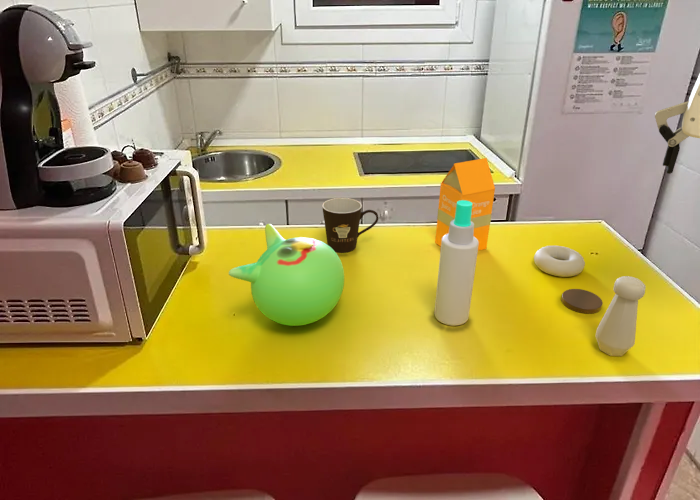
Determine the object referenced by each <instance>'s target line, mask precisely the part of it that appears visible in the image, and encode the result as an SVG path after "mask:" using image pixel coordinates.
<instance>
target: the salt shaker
mask: <svg viewBox="0 0 700 500" xmlns="http://www.w3.org/2000/svg"><path fill="white" fill-rule="evenodd" d="M613 292H614V293H615V294H614V295H613V297H612V300H611V301H610V303H609V305H608V307H607V309H606V310H605V313H604V315H603V317H602V318H601V320H600V322H599V324H598V325H597V328H596V331H595V339H596V342H597V345H598V349H599V351H601V352H602V353H604V354H606V355H608V356H610V357H623V356H624V355H625V354H627V352H628V351H629V350H631V349H632V348H633V347H634V346H635V343H636V332H637V320H638V319H637V318H638V306H639V300H641V299H643V297H644V296H645V293H646V284H645V283H644V282H643V281H642V280H641V279H639V278H637V277H634V276H629V275H625V276H624V275H623V276H620V277H618V278H616V279H615V281H614V285H613Z"/></svg>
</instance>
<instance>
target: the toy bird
mask: <svg viewBox="0 0 700 500" xmlns="http://www.w3.org/2000/svg"><path fill="white" fill-rule="evenodd" d="M264 236H265V241H266V242H265V243H266V250H265V251H264V252H263V253H262V254H261V255H260V257H259V258H258V259H257V261H256V262H252V263H248V264H244V265H243V264H242V265H238V266H236V267H232V268H231V269H230V270H229V271H228V275H229V276H230V277H231V278H233V279H237V280H240V281H245V282H249V283H250V292H251V296H252V300H253V301H254V304H255V306H256V308H257V309H258V310H259V311H260V312H261V313H262V314H263V315H264V317H266V318H268V319H269V320H270V321H273V322H275V323H277V324H280V325H283V326H290V327H293V326H294V327H299V326H306V325H309V324H312V323H315V322H317V321H319V320H321V319H323V318H324V317H326V316H327V315H328V314H330V313H331V312H332V311H333V309H335V307H336V306H337V304H338V303H339V301H340V299H341V297H342V294H343V290H344V287H345V270H344V266H343V263H342V260H341V258H340V256H339V255H338V253H337V252H335V251H334V250H333V249H332V248H331V247H330V246H328V244H327V243H325V242H324V241H322V240H319V239H316V238H312V237H307V236H306V237H303V236H299V237H298V236H297V237H291V238H287V239H285V238H284V237H283V236H282V235H281V233H280V232H279V231H278V229H276V228H275V226H274V225H273V224H271V223H267V224H265V226H264Z"/></svg>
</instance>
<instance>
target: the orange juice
mask: <svg viewBox="0 0 700 500" xmlns="http://www.w3.org/2000/svg"><path fill="white" fill-rule="evenodd" d="M439 187H440V188H439V196H438V208H437V216H436V228H435V229H436V231H435V241H434V243H435V244H436V245H437V246H439V247H440V248H441V242H442V237H443V236H444V235H446V234H449V228H450V222H451V221H452V220H454V219H455V212H456V205H457V201H460V200H466V201H470V202H472V213H471V221H472V222H473V223H474V233H473V236H474V237H475V238H477V240H478V242H479V245H478V252H479V251H482V250H486V249H487V248H488V241H489V235H490V234H489V233H490V225H491V221H492V215H493V214H492V213H493V205H494V201H495V200H494V199H495V193H496V186H495V182H494V179H493V175H492V172H491V168H490V165H489V162H488V158H487V157H483V158H478V159H473V160H465V161H461V162H456V163H453V165H452V166H451V168H450V170H449V171H448V173H446V175H445V177H444V178H443V180H442V181H441V182H440V186H439Z"/></svg>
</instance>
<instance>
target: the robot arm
mask: <svg viewBox="0 0 700 500" xmlns="http://www.w3.org/2000/svg"><path fill="white" fill-rule="evenodd" d="M678 115H682V119H681V127H679V128H678V129H676V130H675V131H673V130H672V129H671V128H670V126H669V124H668V119H670V118H672V117H676V116H678ZM654 118H655V122H656V125H657V129H658V132H659V135H661V137H662V138H663V139H664V141H665V142H666V143H667V147H666V150H665V154H664V158H663V161H662V166H663V167H666V168H665V169H666V170H665V171H666V174H669V175H671V174H673V172H674V169H675V166H676V163H677V159H678V156H679V153H680V143H682V142H684V141H685V140H686V139H687V138H689V137H691V138H694V139H700V73H699V74H698V76H697V79H696V81H695V83H694V85H693V87H692V89H691V92H690V95H689V98H688V100H687V101H684V102H681V103H678V104H675V105H672V106H669V107H666V108H663V109H660V110H659V109H658V110H657V111H655V114H654Z"/></svg>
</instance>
